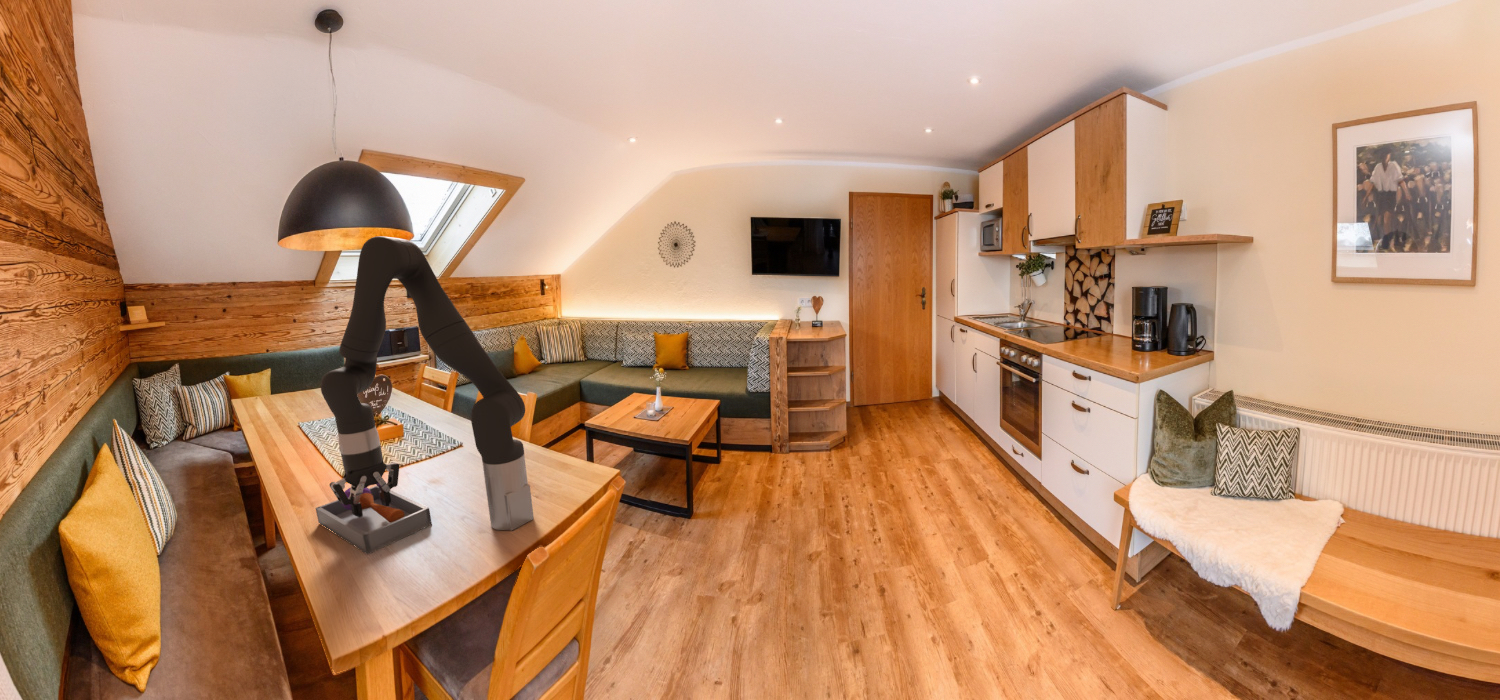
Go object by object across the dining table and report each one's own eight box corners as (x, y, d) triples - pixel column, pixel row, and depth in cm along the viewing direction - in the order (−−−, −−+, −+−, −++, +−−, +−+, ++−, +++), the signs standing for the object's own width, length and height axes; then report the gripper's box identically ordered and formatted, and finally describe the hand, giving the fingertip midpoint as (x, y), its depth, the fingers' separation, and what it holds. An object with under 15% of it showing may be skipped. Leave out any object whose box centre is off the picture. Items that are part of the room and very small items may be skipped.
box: (431, 524, 118) (429, 508, 117) (367, 554, 106) (363, 536, 105) (381, 499, 130) (378, 484, 129) (319, 524, 119) (315, 508, 118)
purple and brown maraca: (379, 515, 110) (332, 492, 118) (387, 535, 112) (340, 511, 120) (405, 499, 115) (358, 478, 123) (413, 518, 117) (366, 496, 125)
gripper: (330, 461, 106) (344, 529, 110) (401, 439, 118) (412, 501, 122) (316, 454, 110) (330, 521, 113) (386, 434, 122) (397, 494, 125)
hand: (373, 510), depth 118 cm, fingers closed on purple and brown maraca, 5 cm apart
